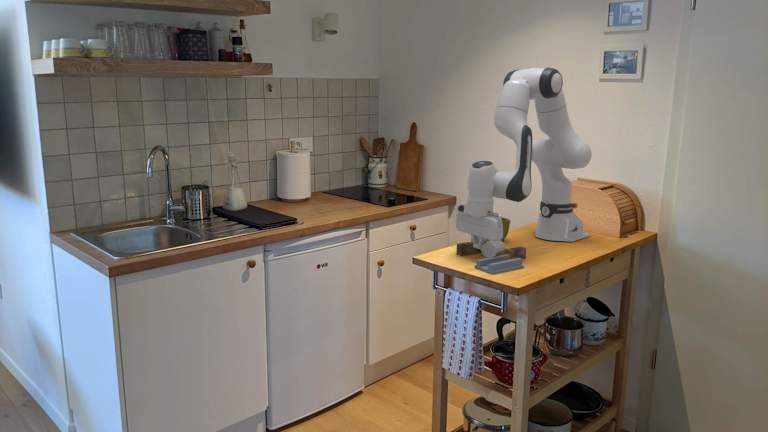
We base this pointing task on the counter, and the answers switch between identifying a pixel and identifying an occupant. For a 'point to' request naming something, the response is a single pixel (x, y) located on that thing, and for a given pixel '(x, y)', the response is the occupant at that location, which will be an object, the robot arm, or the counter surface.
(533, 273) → the counter surface
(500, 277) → the counter surface
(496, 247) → the roll
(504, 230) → the flower pot
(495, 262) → the cradle
